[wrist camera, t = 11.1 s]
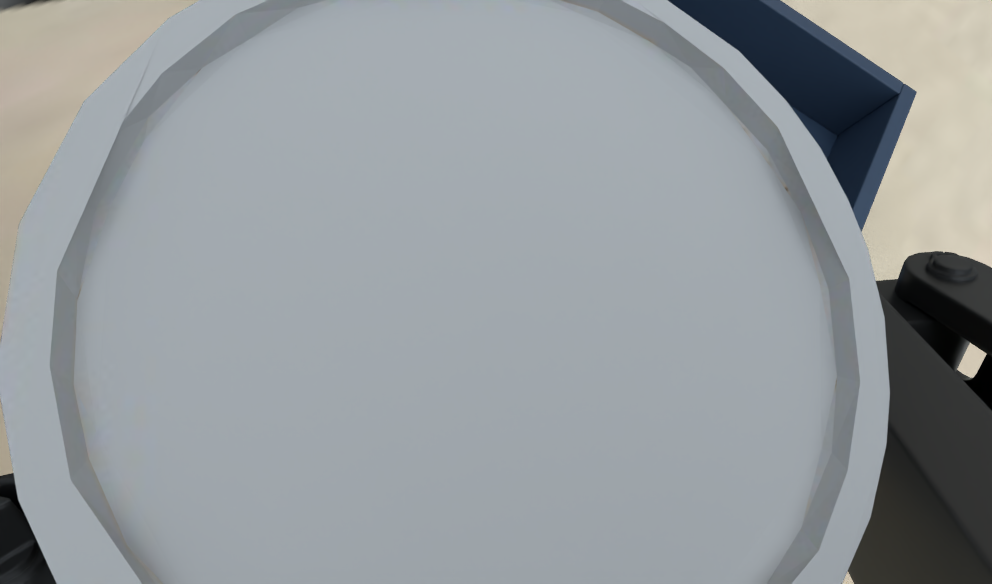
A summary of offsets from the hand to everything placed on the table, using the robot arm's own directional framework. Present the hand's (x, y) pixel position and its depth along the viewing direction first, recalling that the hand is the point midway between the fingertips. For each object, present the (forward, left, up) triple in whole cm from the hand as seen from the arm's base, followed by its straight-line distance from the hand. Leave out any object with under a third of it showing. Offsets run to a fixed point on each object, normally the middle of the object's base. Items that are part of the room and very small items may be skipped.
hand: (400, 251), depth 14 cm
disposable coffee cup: (+3, -2, -4) cm, 5 cm away
